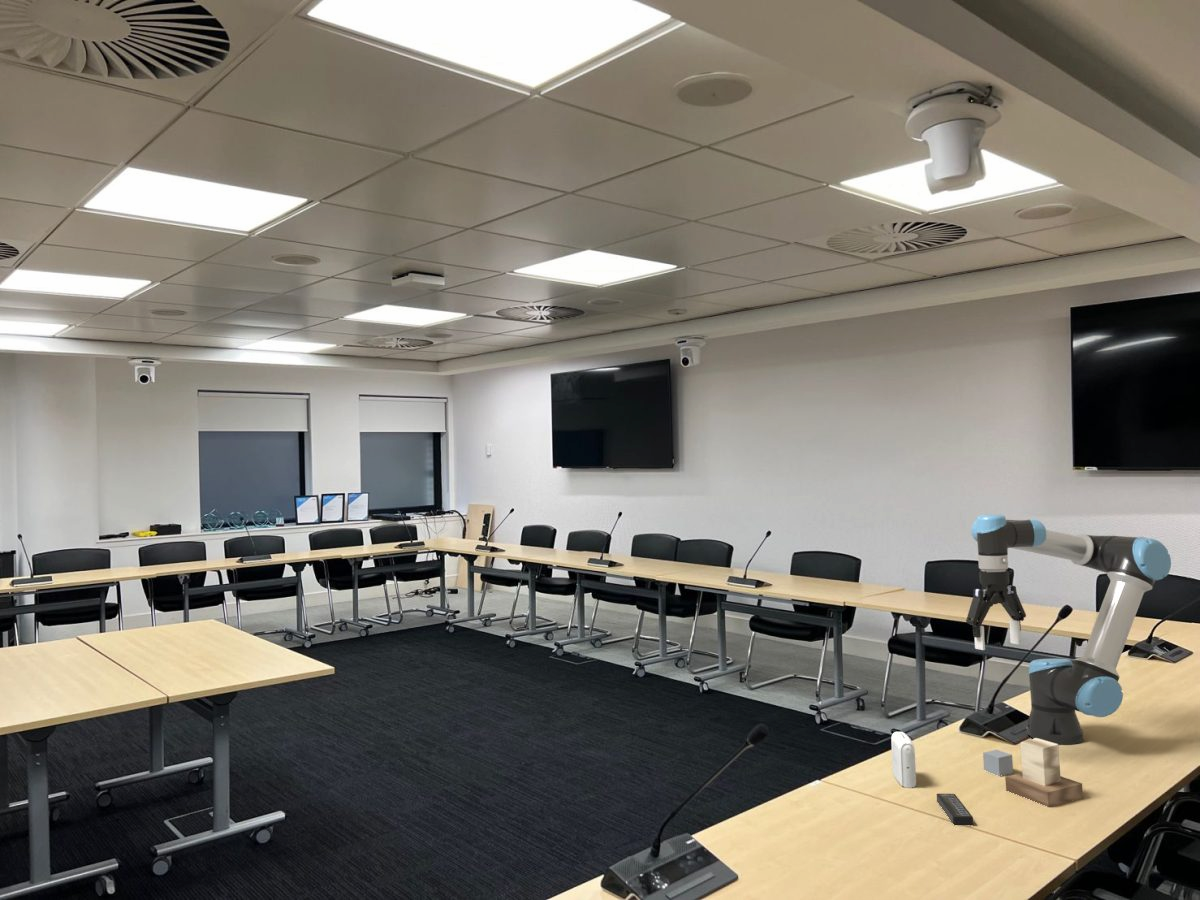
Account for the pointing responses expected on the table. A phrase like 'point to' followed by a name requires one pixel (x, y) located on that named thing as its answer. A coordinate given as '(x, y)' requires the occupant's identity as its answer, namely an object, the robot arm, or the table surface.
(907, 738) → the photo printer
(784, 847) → the table surface
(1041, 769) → the ash block
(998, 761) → the slate grey block
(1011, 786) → the walnut base block
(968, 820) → the multiport hub
